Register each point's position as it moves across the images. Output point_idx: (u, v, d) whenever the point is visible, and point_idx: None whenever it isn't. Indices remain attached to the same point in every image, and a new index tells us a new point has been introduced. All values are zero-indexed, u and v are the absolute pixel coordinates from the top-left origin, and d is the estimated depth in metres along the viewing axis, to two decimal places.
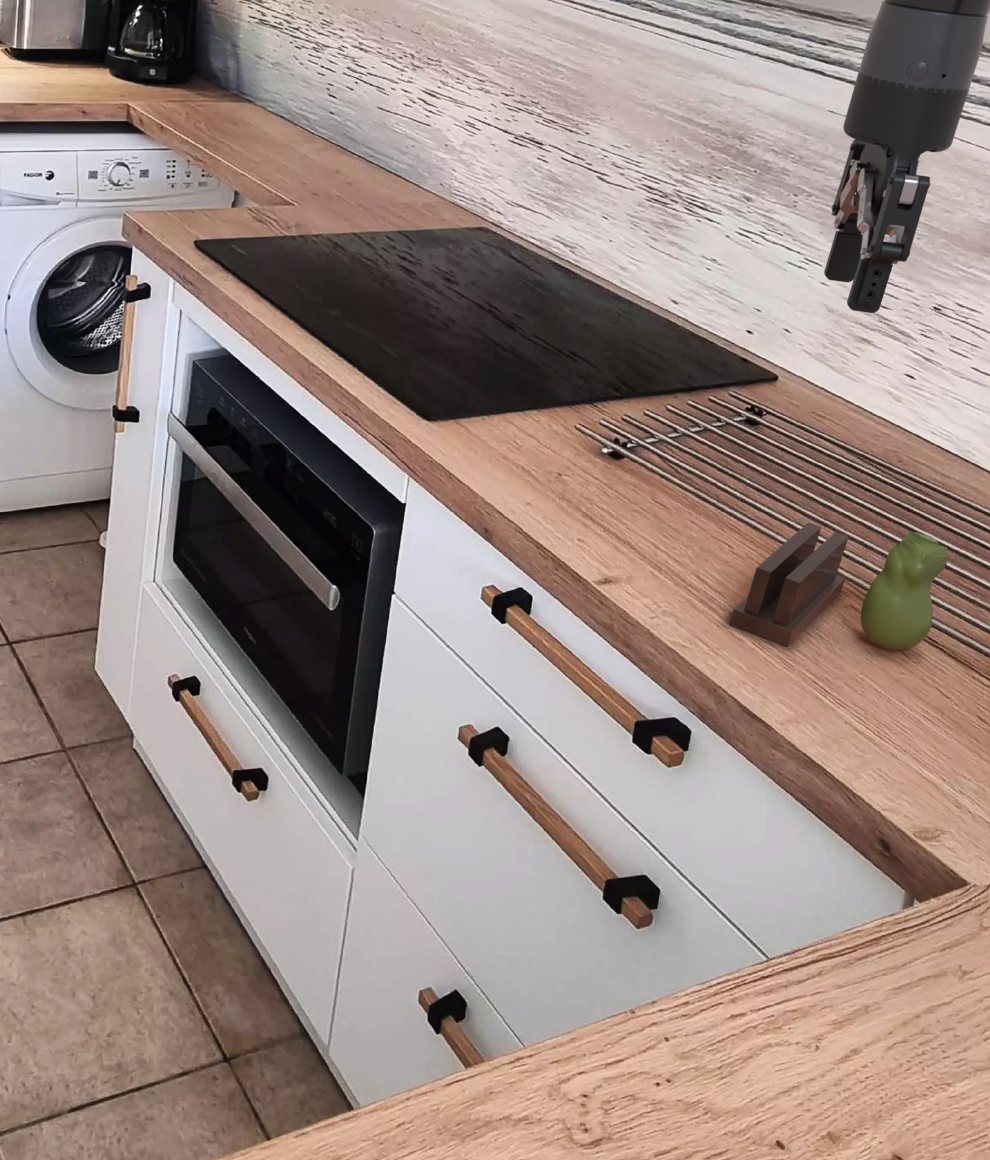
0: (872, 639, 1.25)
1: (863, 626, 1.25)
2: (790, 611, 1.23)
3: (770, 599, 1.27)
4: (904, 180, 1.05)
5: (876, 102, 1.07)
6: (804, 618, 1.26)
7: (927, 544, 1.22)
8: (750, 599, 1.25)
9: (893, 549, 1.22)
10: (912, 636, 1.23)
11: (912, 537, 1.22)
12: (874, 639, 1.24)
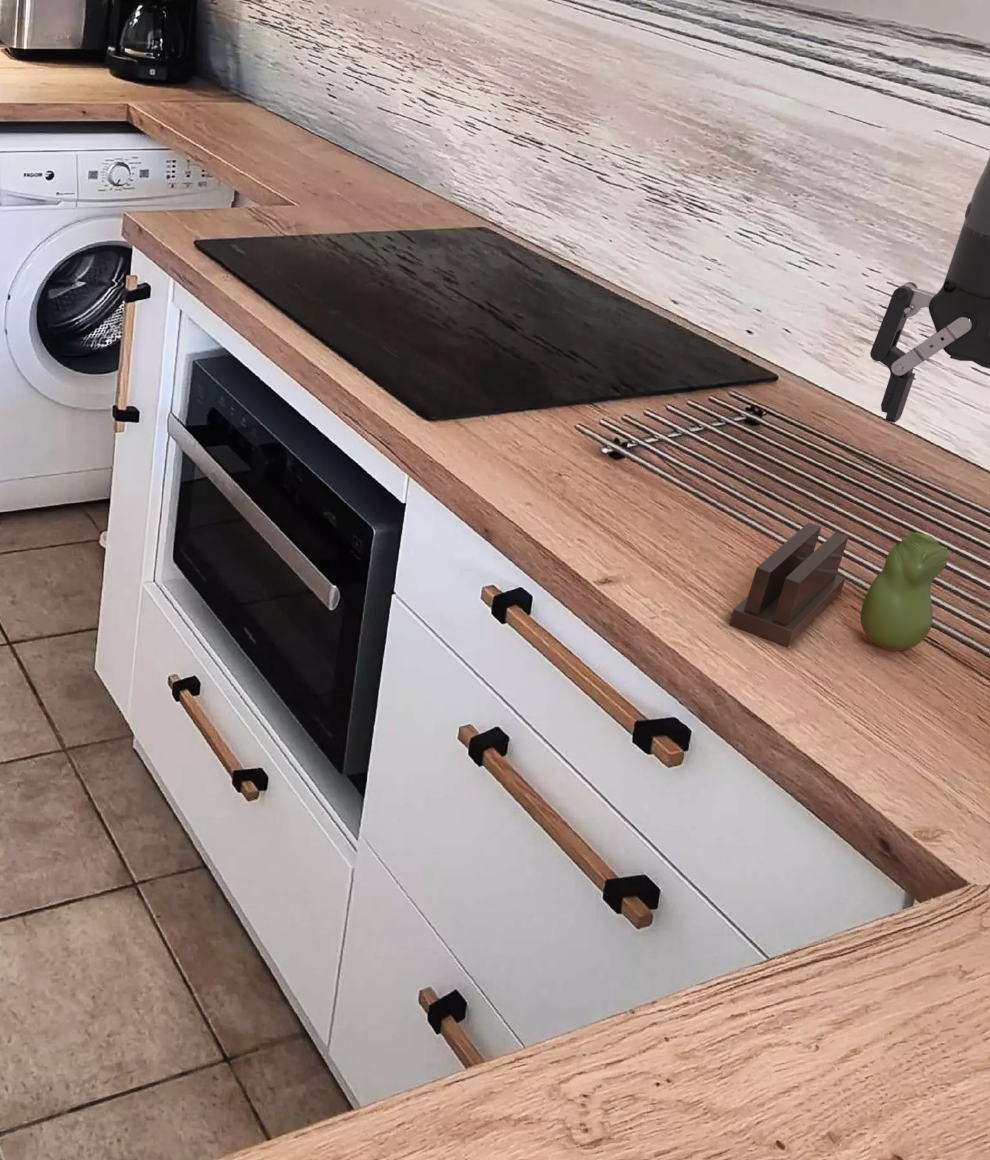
0: (872, 639, 1.25)
1: (863, 626, 1.25)
2: (790, 611, 1.23)
3: (770, 599, 1.27)
4: None
5: None
6: (804, 618, 1.26)
7: (927, 544, 1.22)
8: (750, 599, 1.25)
9: (893, 549, 1.22)
10: (912, 636, 1.23)
11: (912, 537, 1.22)
12: (874, 639, 1.24)
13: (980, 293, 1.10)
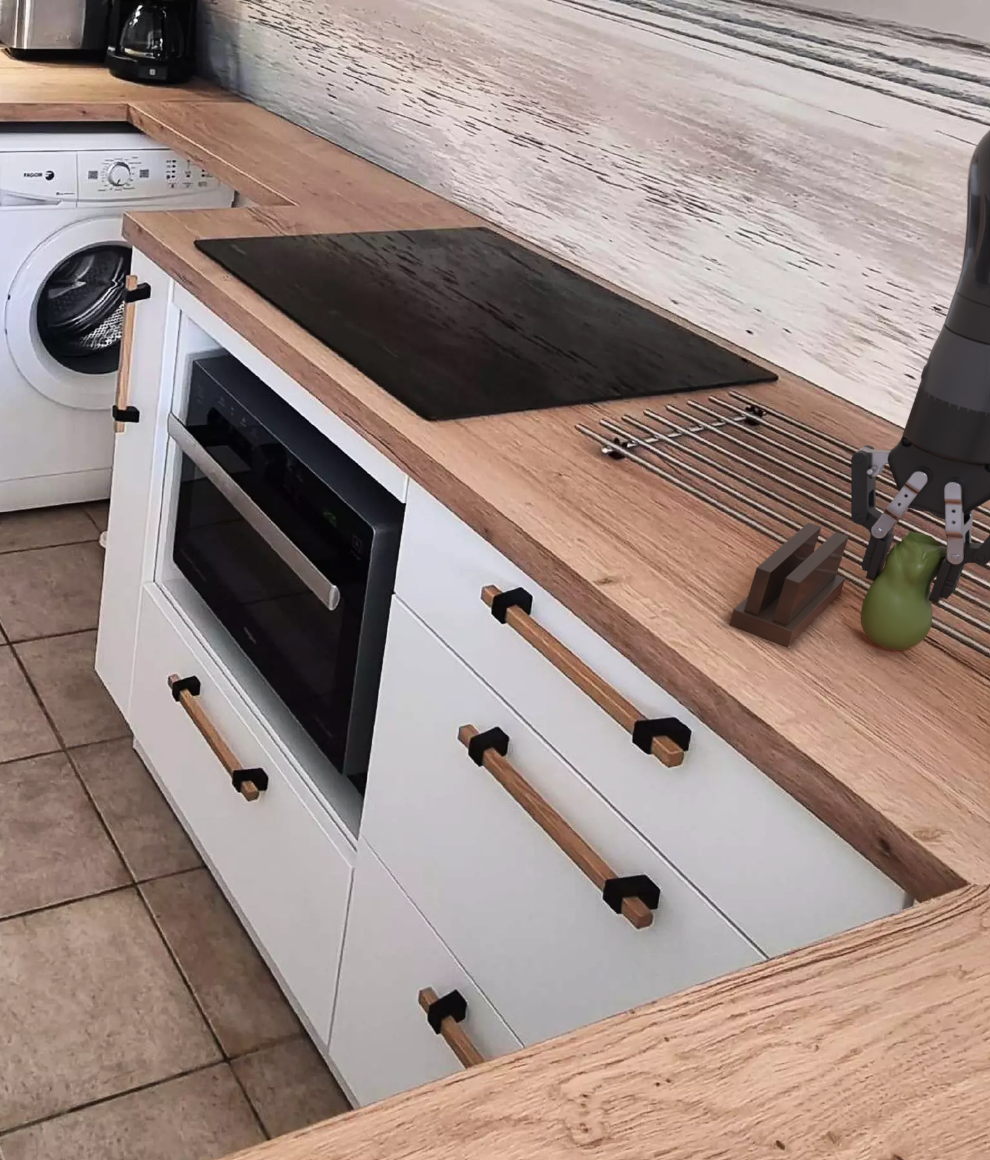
0: (872, 639, 1.25)
1: (863, 626, 1.25)
2: (790, 611, 1.23)
3: (770, 599, 1.27)
4: None
5: None
6: (804, 618, 1.26)
7: (927, 543, 1.22)
8: (750, 599, 1.25)
9: (893, 549, 1.22)
10: (912, 636, 1.23)
11: (912, 537, 1.22)
12: (874, 639, 1.24)
13: (934, 452, 1.15)
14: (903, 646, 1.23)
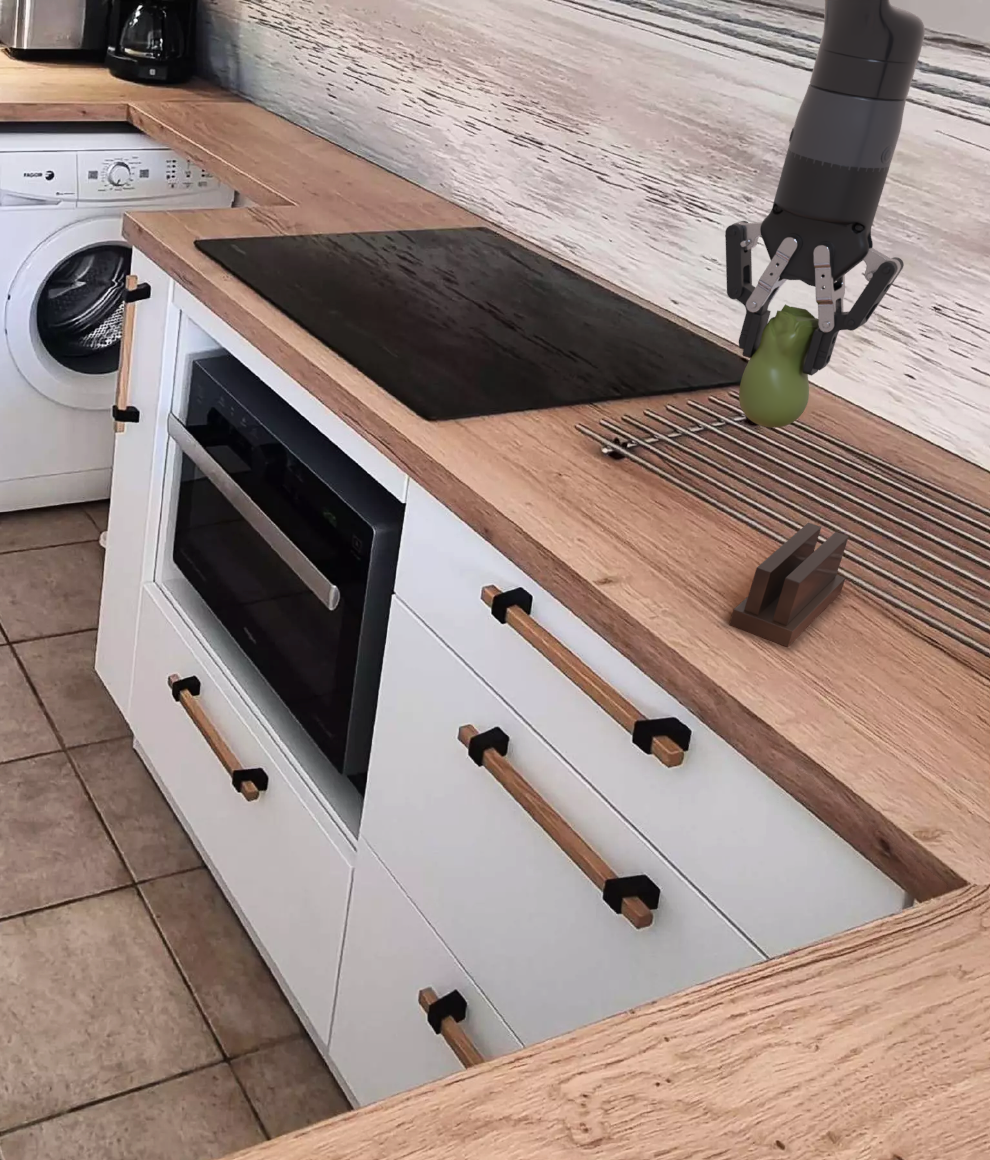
0: (749, 416, 1.25)
1: (741, 404, 1.25)
2: (790, 611, 1.23)
3: (770, 599, 1.27)
4: (896, 269, 1.16)
5: (856, 188, 1.14)
6: (804, 618, 1.26)
7: (801, 316, 1.22)
8: (750, 599, 1.25)
9: (768, 323, 1.23)
10: (787, 410, 1.23)
11: (786, 310, 1.22)
12: (751, 416, 1.25)
13: (801, 212, 1.16)
14: (779, 421, 1.24)
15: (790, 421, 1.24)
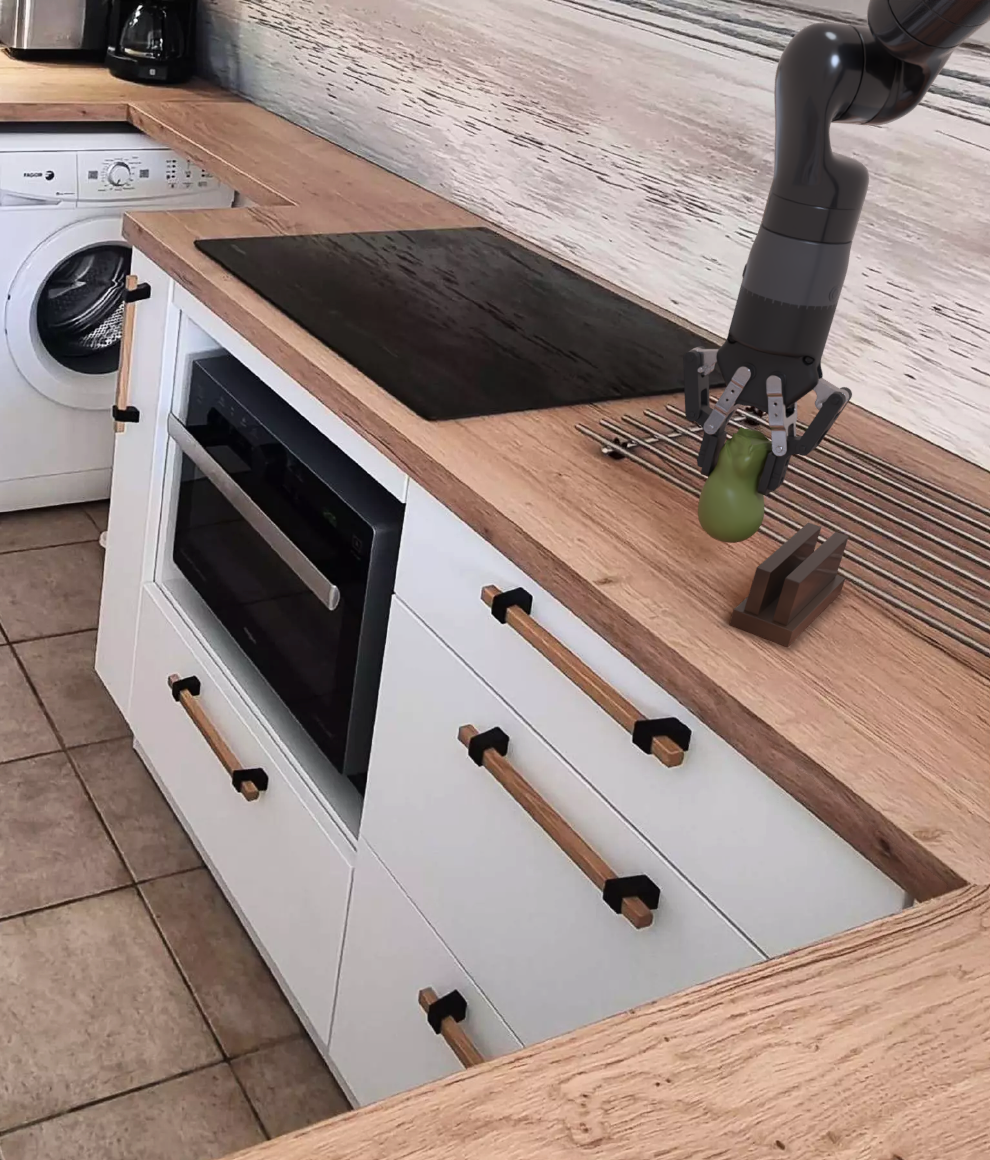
0: (708, 532, 1.30)
1: (699, 520, 1.31)
2: (790, 611, 1.23)
3: (770, 599, 1.27)
4: (844, 399, 1.21)
5: (805, 325, 1.19)
6: (804, 618, 1.26)
7: (756, 438, 1.28)
8: (750, 599, 1.25)
9: (724, 444, 1.28)
10: (743, 527, 1.28)
11: (742, 432, 1.28)
12: (709, 532, 1.30)
13: (753, 346, 1.21)
14: (736, 538, 1.29)
15: (746, 537, 1.29)
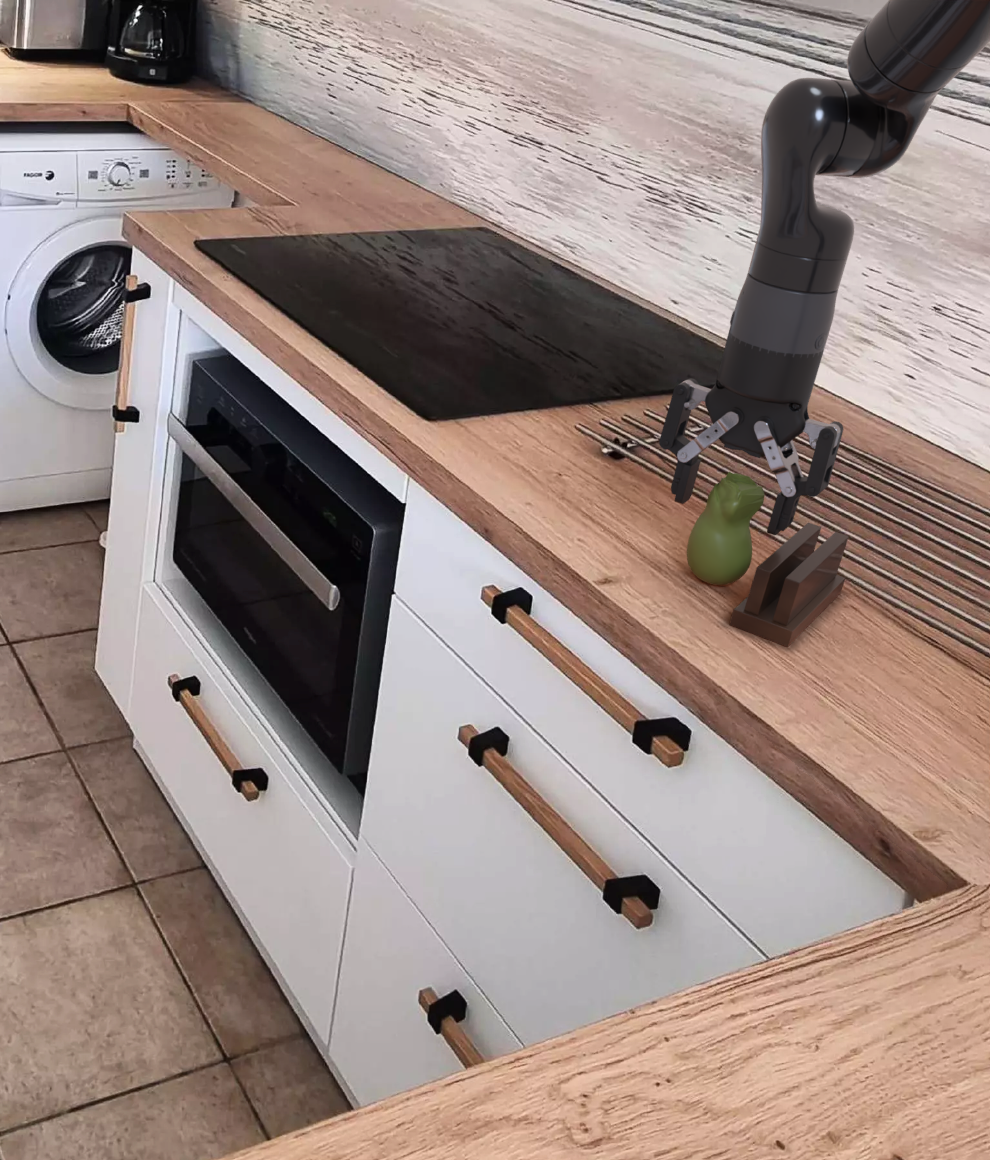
0: (696, 574, 1.32)
1: (688, 562, 1.33)
2: (790, 611, 1.23)
3: (770, 599, 1.27)
4: (835, 432, 1.23)
5: (791, 372, 1.21)
6: (804, 618, 1.26)
7: (744, 483, 1.29)
8: (750, 599, 1.25)
9: (713, 488, 1.30)
10: (731, 571, 1.30)
11: (730, 477, 1.30)
12: (698, 574, 1.32)
13: (741, 392, 1.23)
14: (724, 580, 1.31)
15: (734, 580, 1.31)
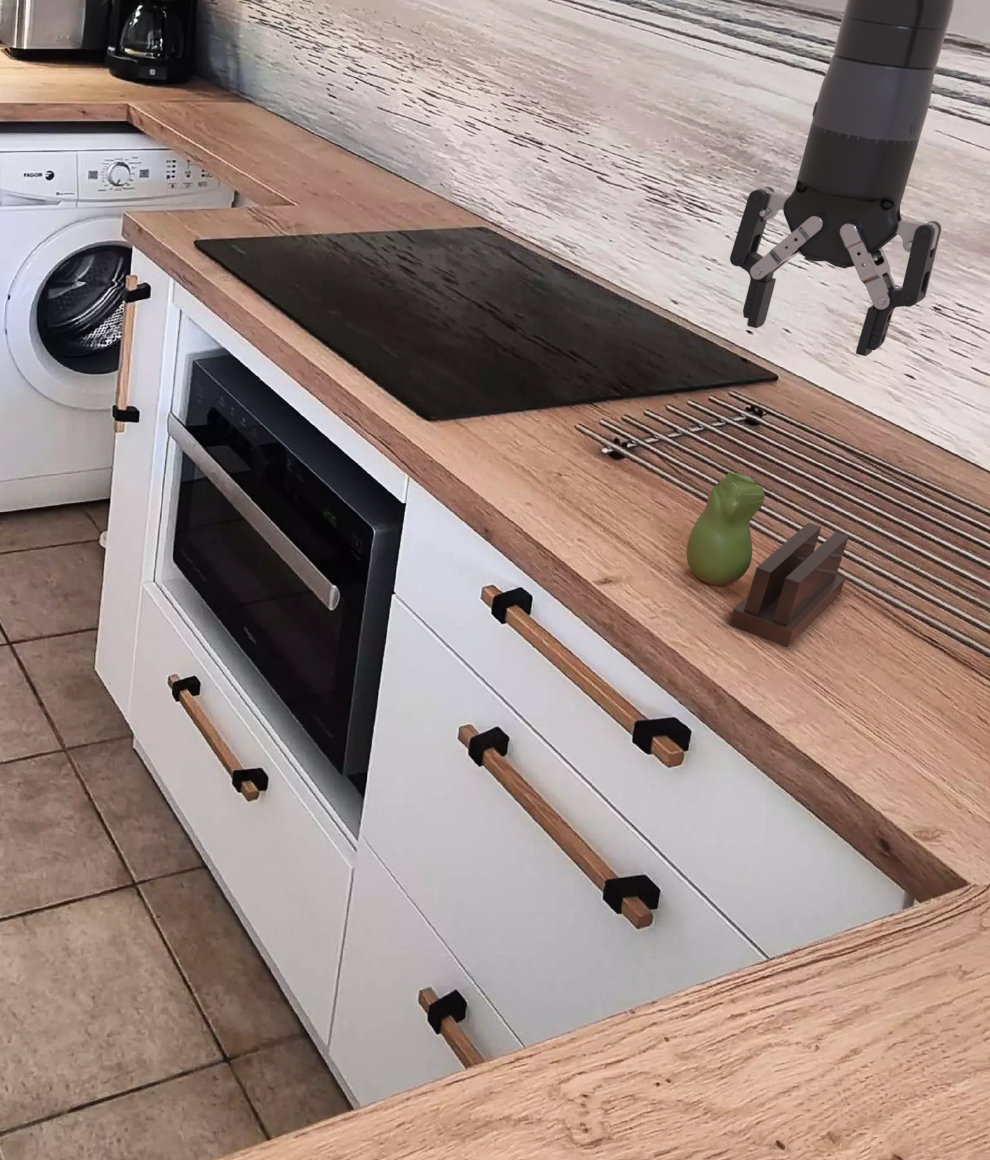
0: (696, 574, 1.32)
1: (688, 562, 1.33)
2: (790, 611, 1.23)
3: (770, 599, 1.27)
4: (933, 230, 1.10)
5: (884, 162, 1.08)
6: (804, 618, 1.26)
7: (745, 483, 1.29)
8: (750, 599, 1.25)
9: (713, 488, 1.30)
10: (731, 571, 1.30)
11: (730, 477, 1.30)
12: (698, 574, 1.32)
13: (826, 189, 1.10)
14: (724, 580, 1.31)
15: (734, 580, 1.31)
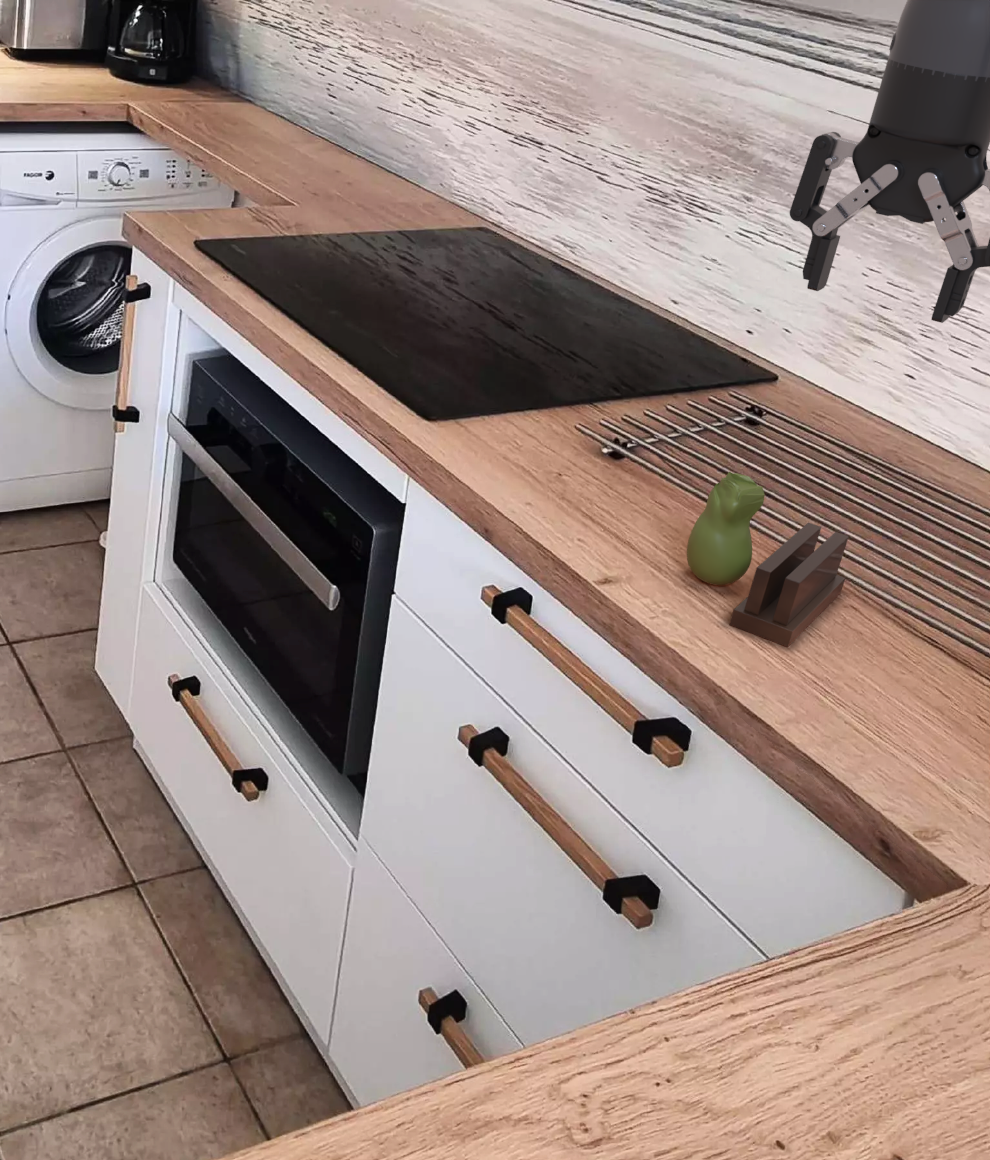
0: (696, 574, 1.32)
1: (688, 562, 1.33)
2: (790, 611, 1.23)
3: (770, 599, 1.27)
4: None
5: (973, 102, 0.96)
6: (804, 618, 1.26)
7: (745, 483, 1.29)
8: (750, 599, 1.25)
9: (713, 488, 1.30)
10: (731, 571, 1.30)
11: (730, 477, 1.30)
12: (698, 574, 1.32)
13: (905, 133, 0.98)
14: (724, 580, 1.31)
15: (734, 580, 1.31)
